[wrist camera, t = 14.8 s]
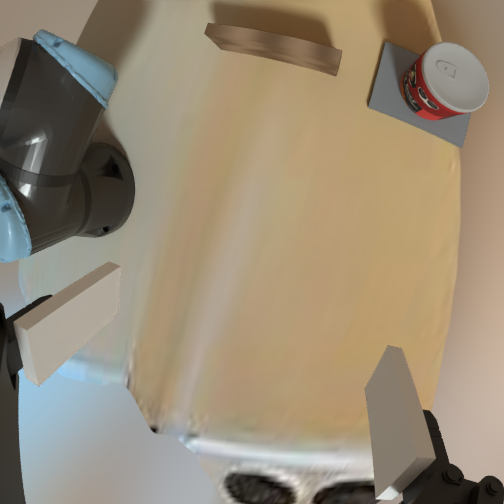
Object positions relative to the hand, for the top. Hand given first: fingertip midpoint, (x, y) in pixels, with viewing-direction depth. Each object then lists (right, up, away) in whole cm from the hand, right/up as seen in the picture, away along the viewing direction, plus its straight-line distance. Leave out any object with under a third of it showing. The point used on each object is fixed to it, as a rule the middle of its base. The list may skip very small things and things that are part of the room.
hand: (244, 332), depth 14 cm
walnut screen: (+4, +30, +23) cm, 37 cm away
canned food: (+23, +24, +20) cm, 39 cm away
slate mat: (+23, +24, +20) cm, 39 cm away
